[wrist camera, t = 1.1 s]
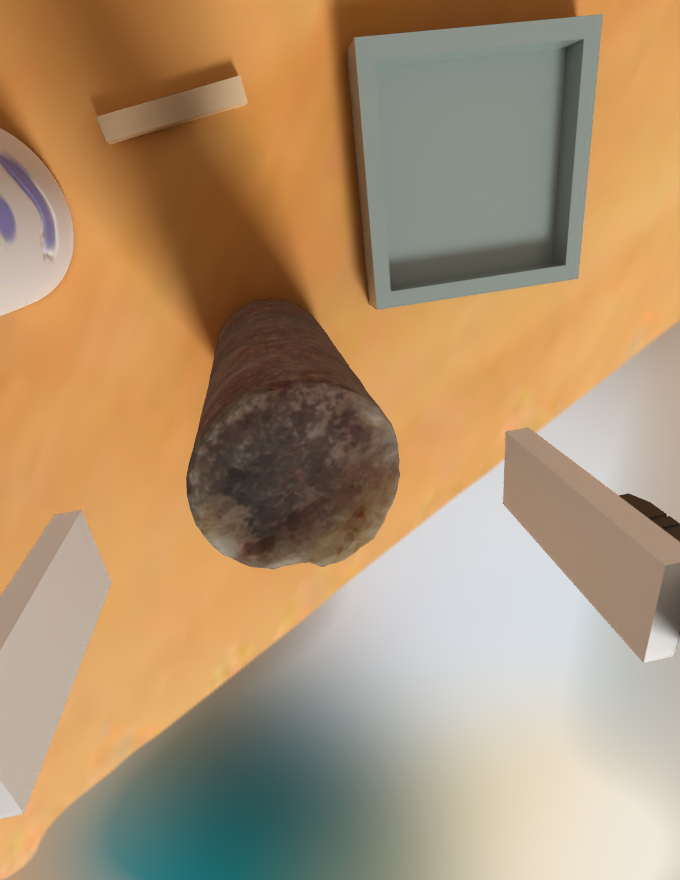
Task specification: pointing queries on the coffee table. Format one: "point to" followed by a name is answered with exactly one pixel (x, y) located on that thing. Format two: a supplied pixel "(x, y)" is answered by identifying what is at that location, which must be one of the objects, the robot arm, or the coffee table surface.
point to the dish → (473, 155)
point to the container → (30, 227)
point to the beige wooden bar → (172, 110)
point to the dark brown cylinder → (288, 445)
